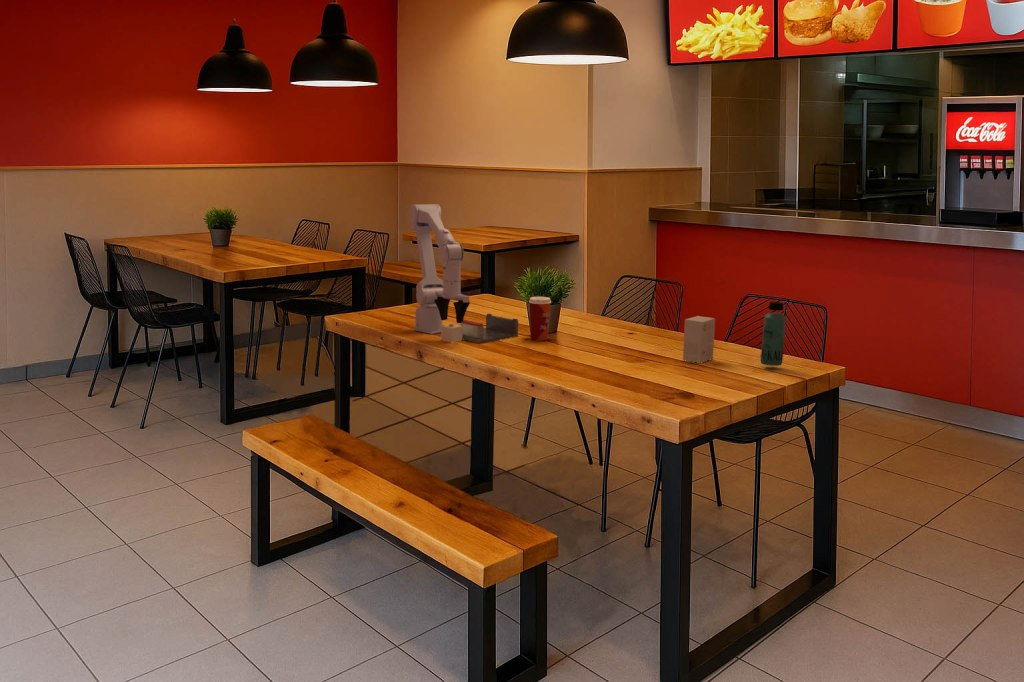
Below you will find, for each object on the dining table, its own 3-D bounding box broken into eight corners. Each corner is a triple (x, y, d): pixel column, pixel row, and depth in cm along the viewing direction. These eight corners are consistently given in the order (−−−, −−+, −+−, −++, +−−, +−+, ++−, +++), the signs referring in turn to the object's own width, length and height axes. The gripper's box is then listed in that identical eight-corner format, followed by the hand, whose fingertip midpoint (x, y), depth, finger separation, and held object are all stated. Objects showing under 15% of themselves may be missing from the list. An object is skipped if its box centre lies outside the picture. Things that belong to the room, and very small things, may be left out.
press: (451, 337, 312) (451, 319, 311) (489, 330, 325) (489, 313, 324) (480, 343, 303) (480, 325, 302) (517, 336, 316) (518, 319, 314)
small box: (695, 356, 289) (697, 315, 287) (713, 359, 285) (716, 318, 283) (682, 360, 283) (684, 319, 281) (700, 364, 279) (703, 321, 277)
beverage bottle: (764, 364, 280) (768, 299, 276) (785, 367, 276) (790, 301, 272) (756, 368, 274) (761, 302, 270) (778, 372, 271) (783, 304, 267)
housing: (441, 340, 307) (441, 324, 306) (452, 338, 310) (452, 322, 309) (451, 343, 304) (451, 326, 302) (462, 341, 307) (462, 324, 306)
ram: (459, 334, 311) (459, 320, 310) (466, 333, 313) (466, 319, 312) (478, 338, 305) (478, 324, 304) (484, 337, 307) (484, 323, 306)
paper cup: (548, 342, 307) (549, 300, 304) (525, 340, 309) (526, 299, 306) (552, 337, 315) (553, 296, 312) (530, 336, 316) (530, 295, 313)
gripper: (427, 279, 305) (428, 319, 308) (458, 284, 295) (457, 325, 298) (443, 277, 310) (443, 317, 313) (473, 282, 300) (473, 323, 303)
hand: (451, 321), depth 306 cm, fingers open, 7 cm apart
